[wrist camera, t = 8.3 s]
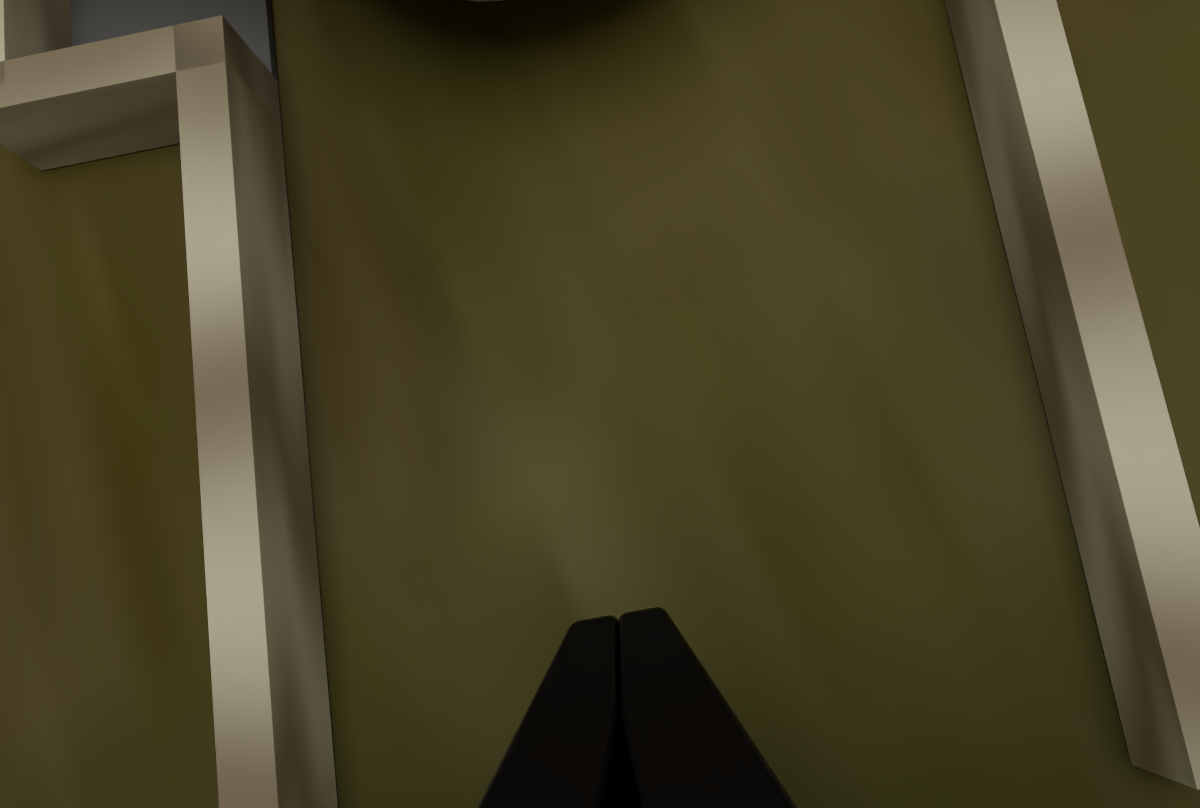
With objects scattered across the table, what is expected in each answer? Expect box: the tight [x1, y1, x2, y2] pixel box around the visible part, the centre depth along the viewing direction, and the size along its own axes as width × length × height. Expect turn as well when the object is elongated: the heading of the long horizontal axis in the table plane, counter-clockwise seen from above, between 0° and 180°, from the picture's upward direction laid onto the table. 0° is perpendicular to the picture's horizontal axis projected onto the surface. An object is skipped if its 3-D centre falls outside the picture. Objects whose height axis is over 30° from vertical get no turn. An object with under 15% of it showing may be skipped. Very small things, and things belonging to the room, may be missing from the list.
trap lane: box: [0, 0, 1200, 808], centre depth 19 cm, size 28×25×4 cm
